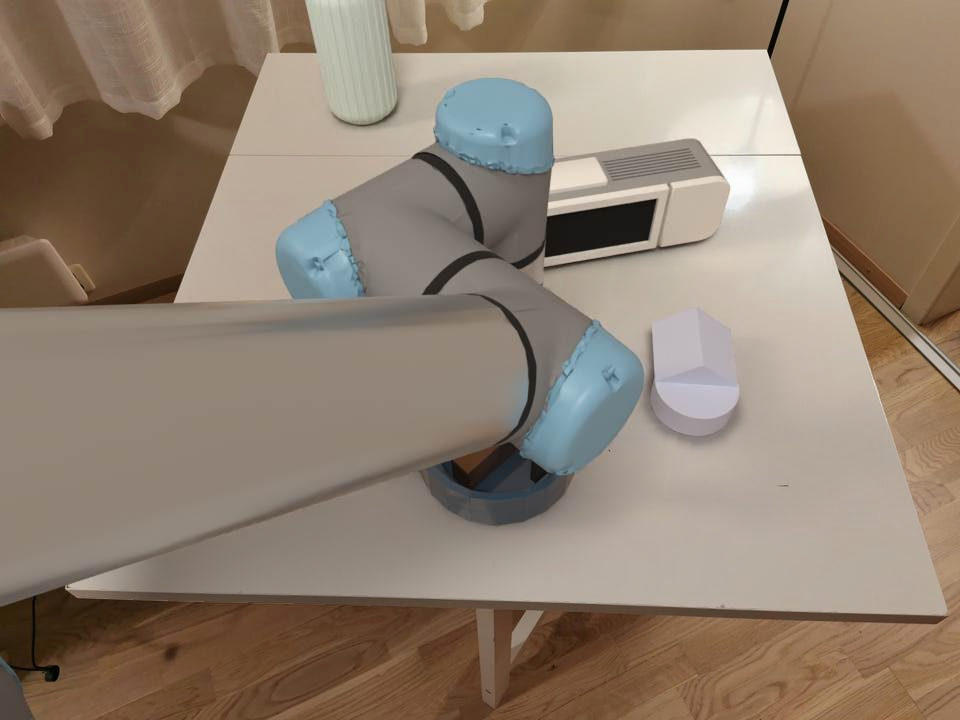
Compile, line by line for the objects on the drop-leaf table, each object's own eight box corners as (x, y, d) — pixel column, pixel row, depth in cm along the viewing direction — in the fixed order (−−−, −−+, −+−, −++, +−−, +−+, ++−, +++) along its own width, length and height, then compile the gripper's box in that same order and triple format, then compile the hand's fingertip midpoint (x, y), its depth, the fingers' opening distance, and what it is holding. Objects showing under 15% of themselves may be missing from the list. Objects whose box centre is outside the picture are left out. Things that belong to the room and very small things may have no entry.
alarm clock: (518, 278, 93) (520, 206, 83) (502, 232, 98) (502, 160, 89) (714, 245, 96) (736, 172, 86) (688, 202, 101) (706, 129, 92)
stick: (469, 492, 73) (468, 473, 69) (452, 477, 74) (450, 457, 71) (542, 428, 77) (543, 407, 74) (524, 414, 78) (525, 393, 75)
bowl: (497, 561, 69) (496, 534, 64) (389, 456, 76) (381, 426, 72) (607, 457, 76) (614, 426, 71) (498, 370, 83) (497, 337, 79)
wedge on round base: (647, 342, 85) (651, 432, 77) (656, 304, 80) (662, 397, 72) (723, 347, 85) (736, 439, 77) (737, 308, 79) (753, 403, 71)
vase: (407, 96, 121) (391, -42, 103) (387, 135, 114) (365, -7, 96) (344, 90, 123) (317, -47, 105) (320, 127, 116) (287, -13, 98)
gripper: (651, 340, 51) (612, 486, 68) (427, 189, 62) (441, 346, 79) (582, 399, 48) (560, 537, 64) (360, 229, 59) (389, 383, 76)
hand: (494, 432), depth 72 cm, fingers open, 12 cm apart
